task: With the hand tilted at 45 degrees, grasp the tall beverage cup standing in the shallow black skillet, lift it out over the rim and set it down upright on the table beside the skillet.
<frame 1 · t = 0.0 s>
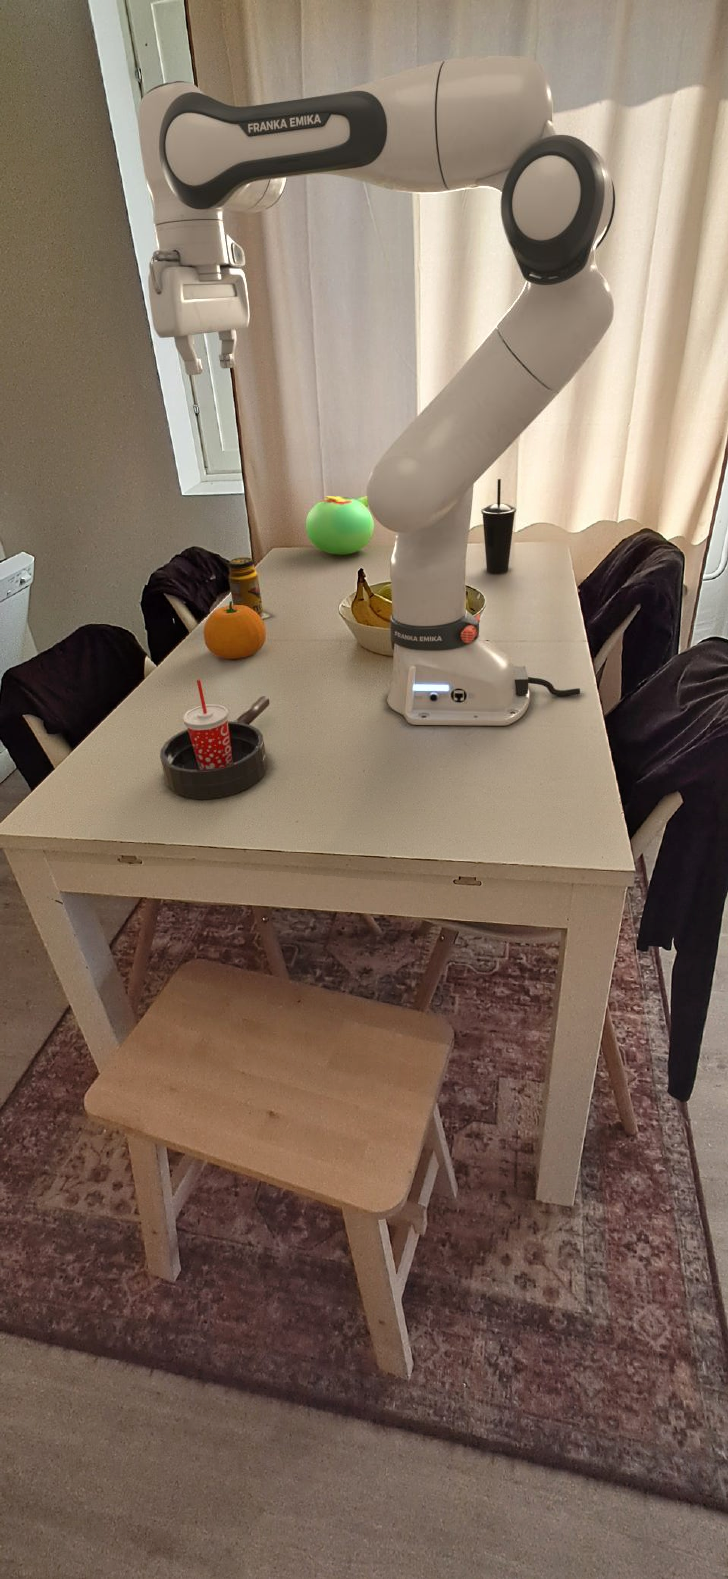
hand: (212, 371, 108), 48 cm above the table, tool pointing down, fingers open, 8 cm apart
skillet handle: (251, 713, 115), point 3 cm above the table
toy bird: (343, 553, 200), on the table
beverage cup: (217, 772, 108), resting on skillet
condiment: (245, 618, 163), on the table
drinking cup: (497, 571, 177), on the table
skillet: (217, 772, 108), on the table
fruit: (238, 653, 147), on the table
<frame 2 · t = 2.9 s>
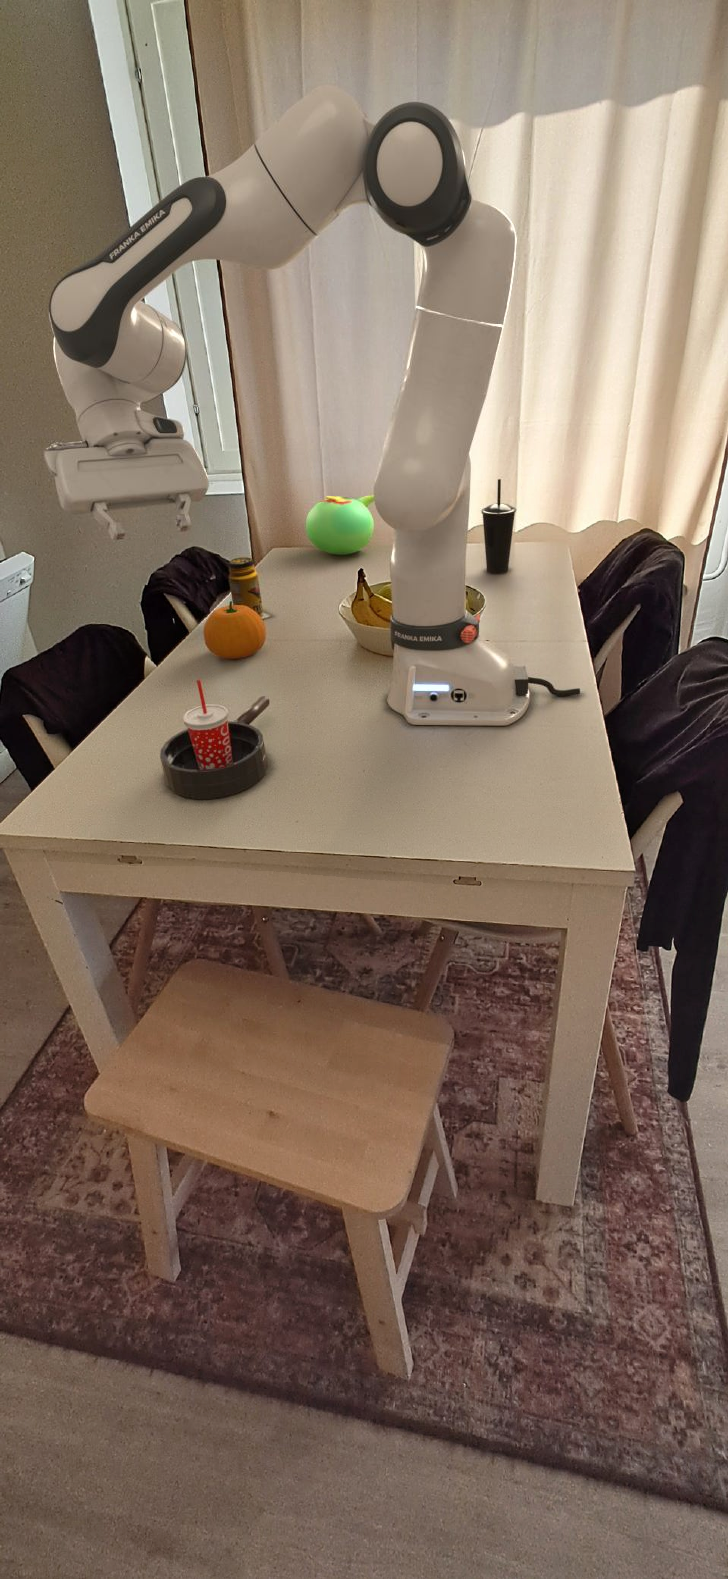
hand: (152, 533, 103), 30 cm above the table, tool tilted 40°, fingers open, 8 cm apart
nothing on the table moved.
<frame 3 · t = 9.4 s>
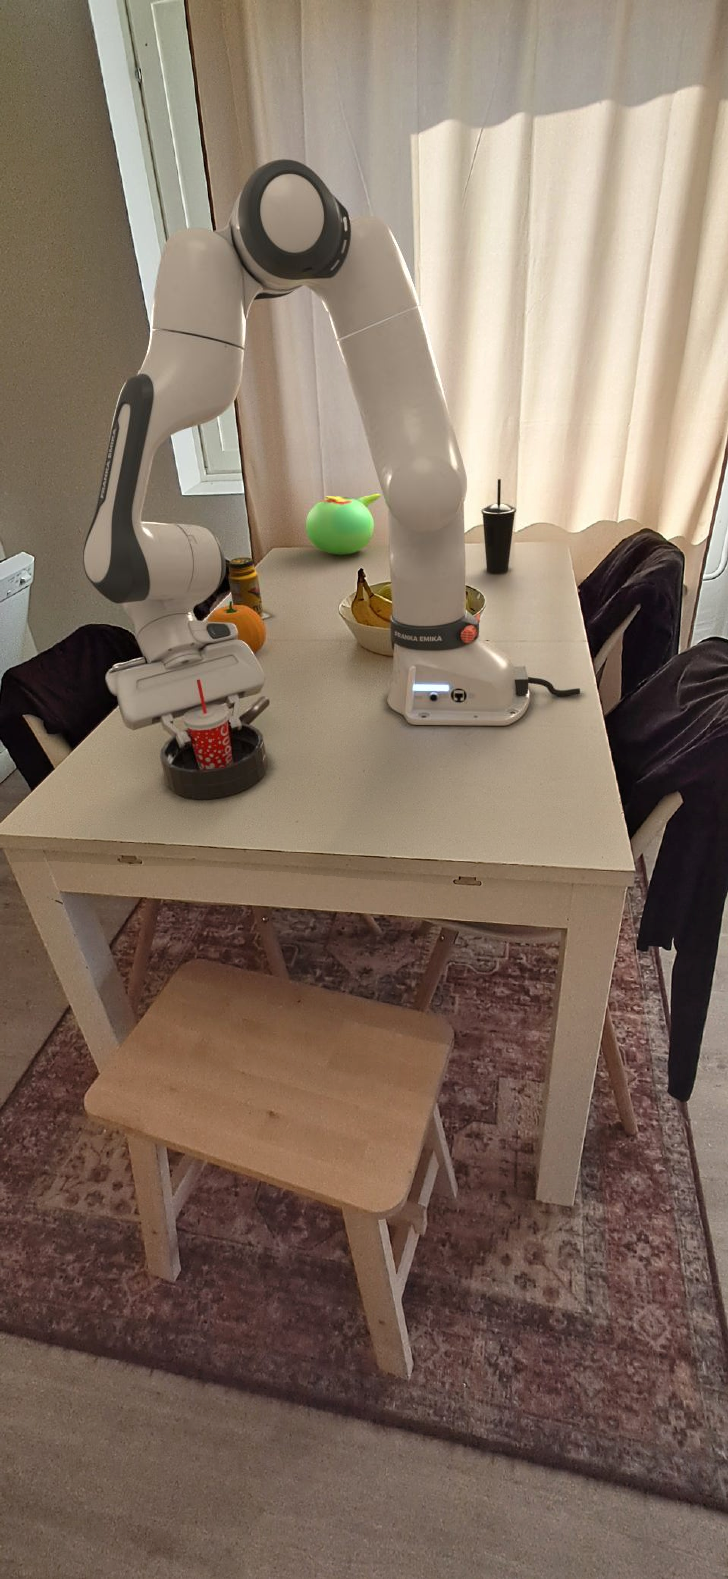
hand: (211, 737, 105), 6 cm above the table, tool tilted 45°, fingers closed on beverage cup, 6 cm apart
beverage cup: (217, 772, 108), resting on skillet, touching gripper
everything else where it was.
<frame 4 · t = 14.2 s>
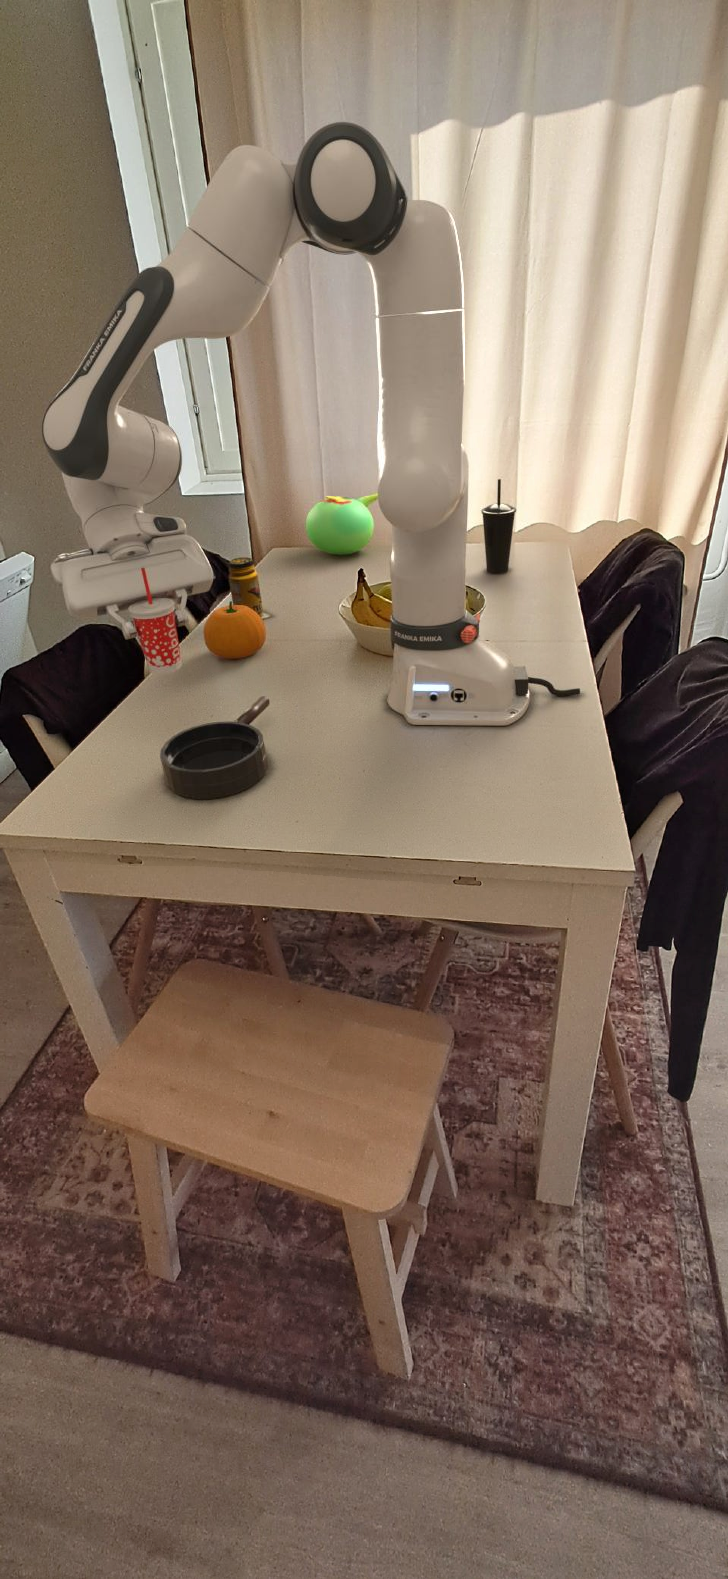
hand: (158, 630, 104), 19 cm above the table, tool tilted 45°, fingers closed on beverage cup, 6 cm apart
beverage cup: (165, 668, 108), point 13 cm above the table, touching gripper
everything else where it was.
when the fingers open (6 cm above the table, at t = 19.0 s): beverage cup stays where it is, on the table.
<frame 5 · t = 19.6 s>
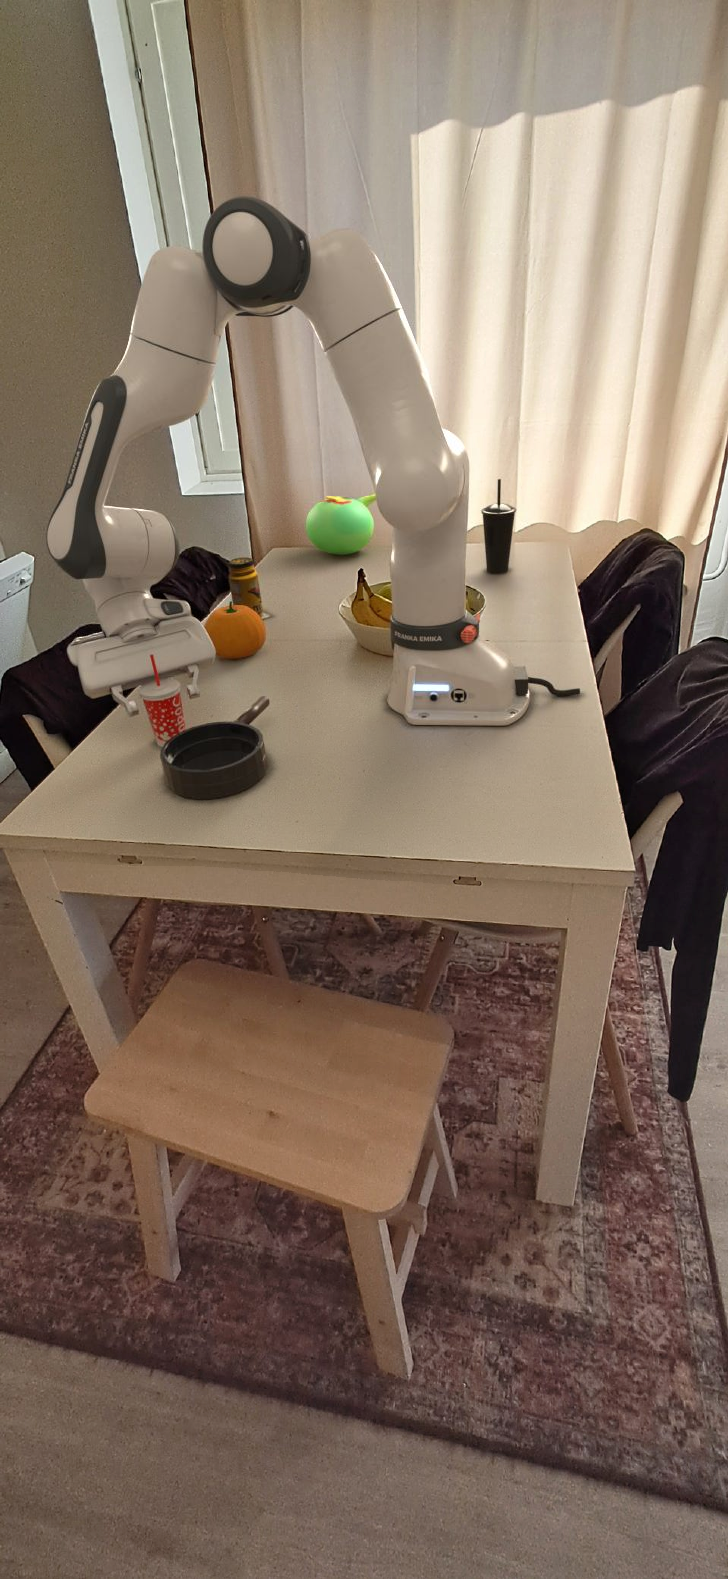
hand: (165, 705, 114), 6 cm above the table, tool tilted 45°, fingers open, 8 cm apart
beverage cup: (172, 741, 118), on the table
everything else where it was.
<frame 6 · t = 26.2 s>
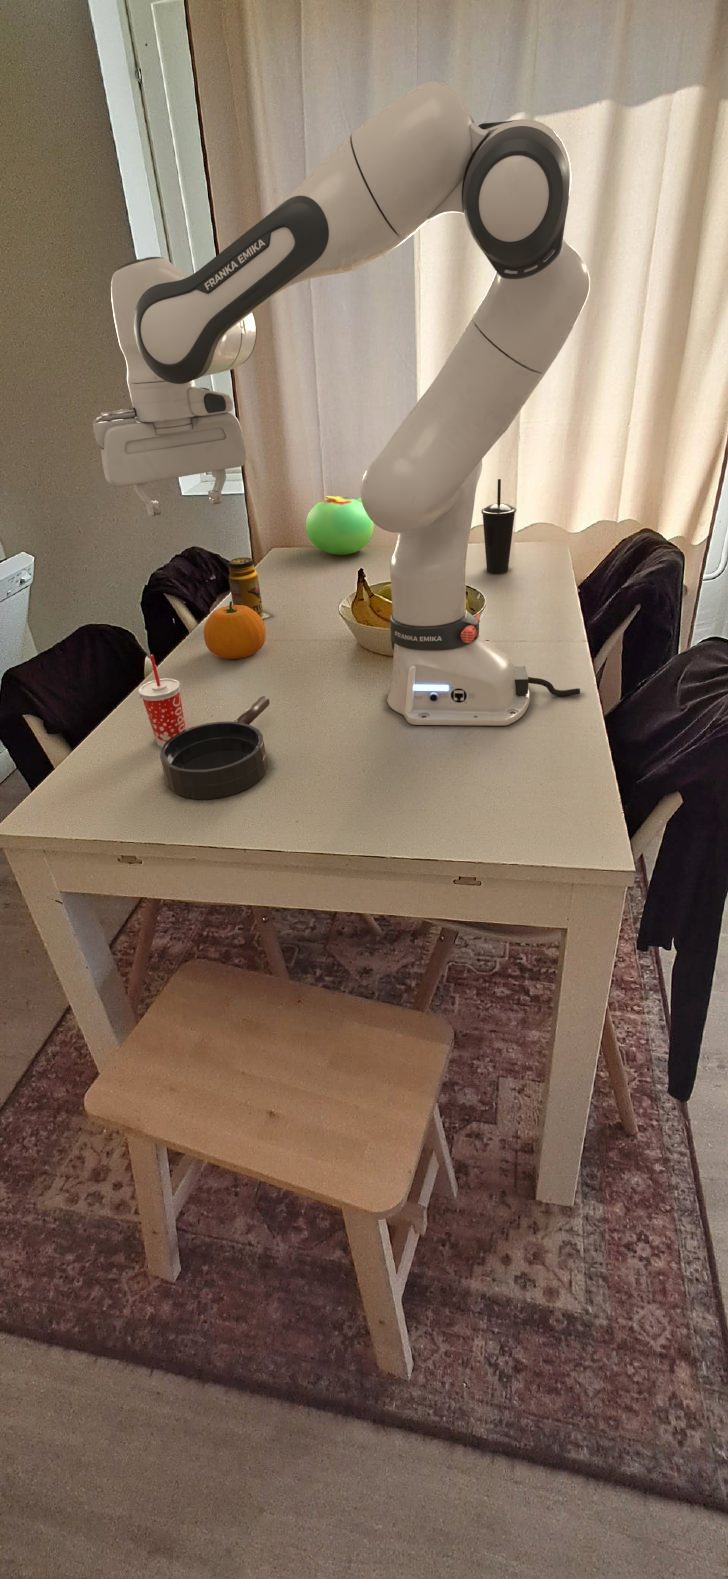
hand: (186, 509, 112), 31 cm above the table, tool pointing down, fingers open, 8 cm apart
nothing on the table moved.
at the end: beverage cup inside the target area (0.2 cm from its centre), on the table; beverage cup tilted 0°; the gripper is holding nothing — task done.
